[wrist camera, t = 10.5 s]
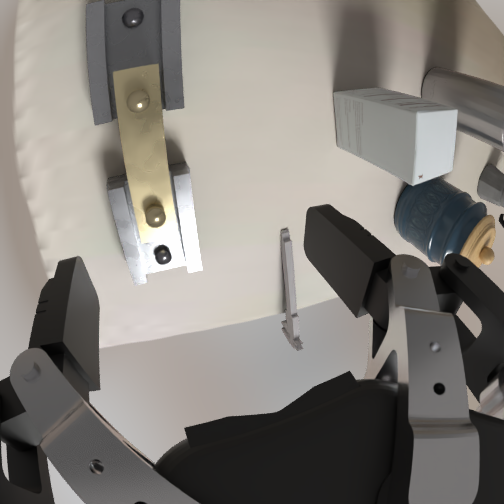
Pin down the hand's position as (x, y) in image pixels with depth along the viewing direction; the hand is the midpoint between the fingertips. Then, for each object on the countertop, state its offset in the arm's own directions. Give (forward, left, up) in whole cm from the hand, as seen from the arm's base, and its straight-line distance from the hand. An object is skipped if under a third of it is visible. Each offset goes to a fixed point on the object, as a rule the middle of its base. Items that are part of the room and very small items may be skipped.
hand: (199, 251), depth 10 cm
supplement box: (-24, -1, -21) cm, 31 cm away
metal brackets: (+1, 0, -20) cm, 20 cm away
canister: (-41, +14, -21) cm, 48 cm away
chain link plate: (+1, 0, -18) cm, 18 cm away
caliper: (-15, +24, -21) cm, 35 cm away
